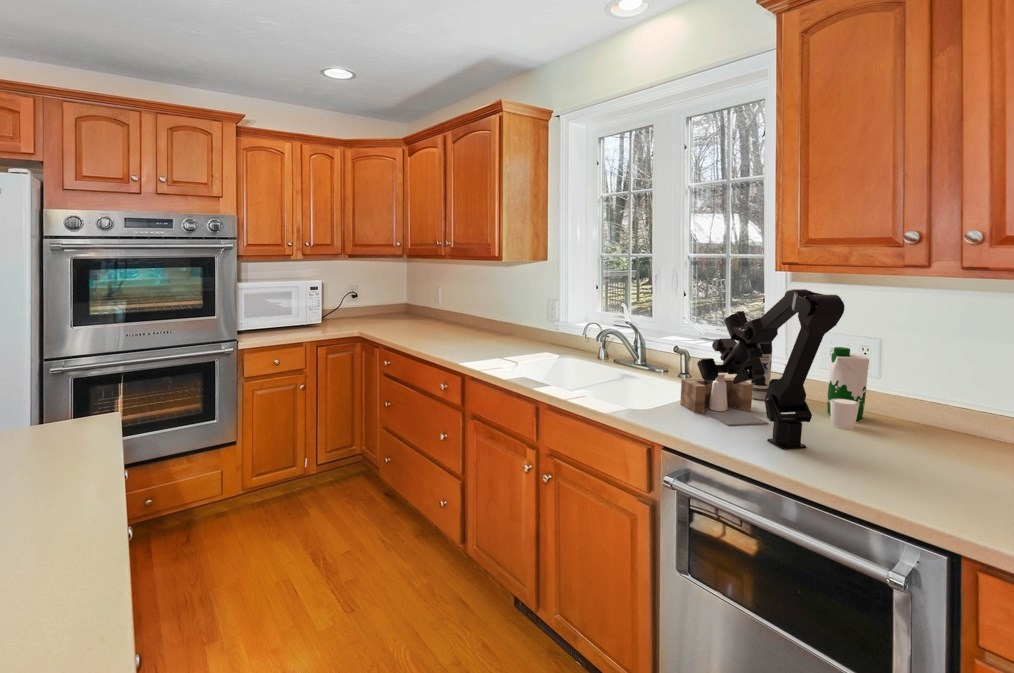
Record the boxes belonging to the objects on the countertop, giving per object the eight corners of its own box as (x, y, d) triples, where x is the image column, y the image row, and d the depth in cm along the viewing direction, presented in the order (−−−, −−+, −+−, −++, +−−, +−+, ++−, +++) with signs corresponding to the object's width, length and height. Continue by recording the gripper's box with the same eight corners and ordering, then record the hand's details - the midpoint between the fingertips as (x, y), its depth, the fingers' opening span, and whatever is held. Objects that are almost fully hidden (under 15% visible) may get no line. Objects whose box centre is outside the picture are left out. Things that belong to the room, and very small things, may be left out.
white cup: (849, 422, 159) (851, 398, 158) (862, 430, 152) (864, 404, 151) (823, 422, 159) (825, 397, 158) (835, 429, 152) (837, 404, 151)
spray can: (748, 399, 184) (752, 338, 181) (745, 394, 190) (749, 335, 187) (770, 401, 182) (774, 339, 179) (767, 396, 188) (771, 336, 185)
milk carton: (823, 411, 170) (828, 345, 167) (857, 414, 167) (863, 346, 164) (831, 419, 161) (837, 350, 159) (867, 422, 159) (874, 351, 156)
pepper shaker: (731, 410, 171) (733, 374, 169) (716, 412, 169) (718, 375, 167) (719, 406, 176) (721, 371, 174) (704, 407, 174) (706, 372, 173)
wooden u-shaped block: (751, 410, 171) (752, 384, 170) (694, 412, 168) (696, 386, 167) (734, 402, 180) (735, 377, 179) (680, 404, 177) (681, 379, 176)
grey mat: (768, 424, 157) (768, 422, 157) (728, 425, 155) (728, 424, 155) (744, 412, 169) (744, 410, 169) (706, 413, 167) (706, 412, 167)
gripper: (762, 330, 165) (739, 360, 177) (702, 331, 162) (682, 361, 175) (777, 362, 158) (751, 391, 171) (714, 363, 156) (693, 393, 168)
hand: (719, 383), depth 171 cm, fingers open, 9 cm apart
